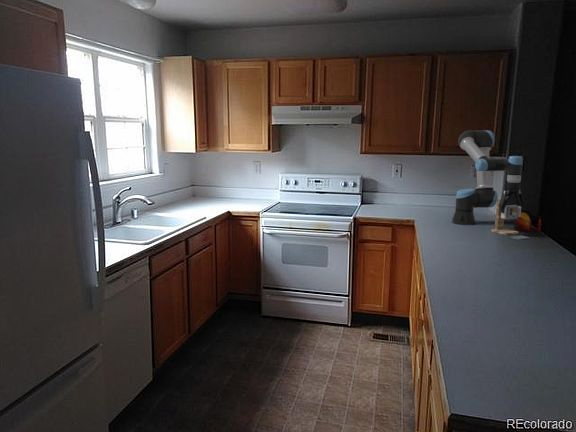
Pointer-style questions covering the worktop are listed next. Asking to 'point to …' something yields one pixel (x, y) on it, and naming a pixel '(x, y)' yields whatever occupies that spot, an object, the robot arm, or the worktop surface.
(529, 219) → the mug
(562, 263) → the worktop surface
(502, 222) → the stand
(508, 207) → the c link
